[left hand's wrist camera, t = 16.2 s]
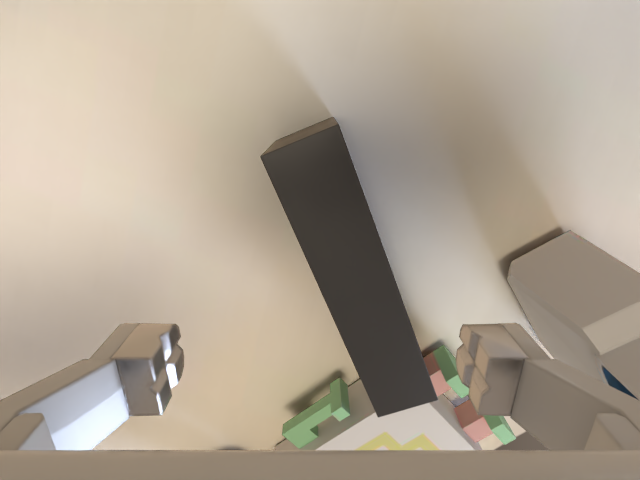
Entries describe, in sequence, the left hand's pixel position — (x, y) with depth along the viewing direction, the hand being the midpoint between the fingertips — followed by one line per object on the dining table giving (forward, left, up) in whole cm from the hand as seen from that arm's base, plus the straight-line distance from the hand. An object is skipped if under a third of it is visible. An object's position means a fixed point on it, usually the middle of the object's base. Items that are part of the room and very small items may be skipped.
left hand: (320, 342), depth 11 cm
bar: (+4, +7, -26) cm, 27 cm away
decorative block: (+20, +26, -26) cm, 42 cm away
